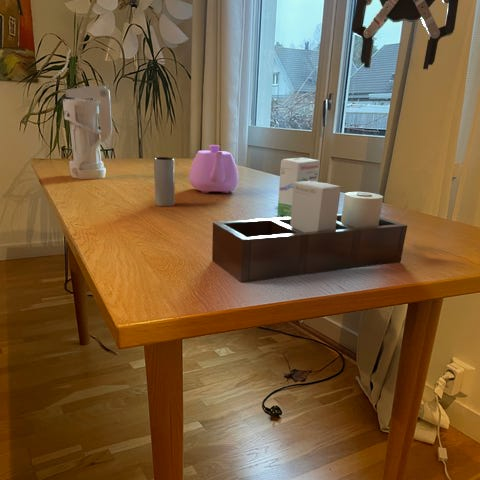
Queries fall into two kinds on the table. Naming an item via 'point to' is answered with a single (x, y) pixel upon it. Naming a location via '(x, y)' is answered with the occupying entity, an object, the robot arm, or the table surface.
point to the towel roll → (361, 209)
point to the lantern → (88, 129)
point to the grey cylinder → (164, 181)
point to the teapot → (213, 171)
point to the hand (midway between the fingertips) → (395, 68)
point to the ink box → (294, 180)
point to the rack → (302, 247)
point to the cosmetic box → (314, 206)
